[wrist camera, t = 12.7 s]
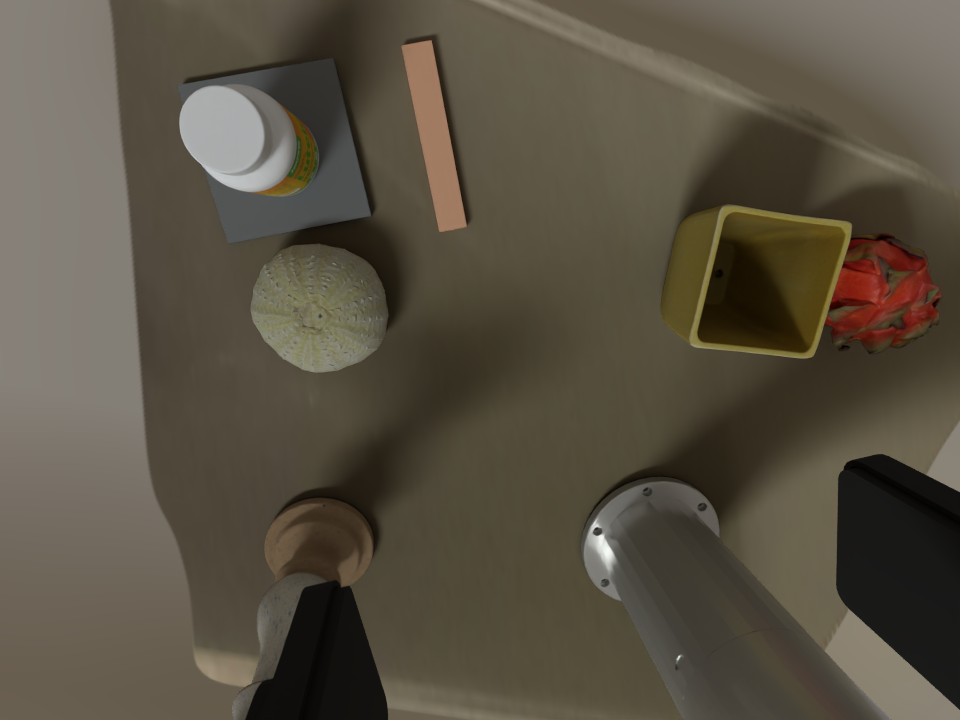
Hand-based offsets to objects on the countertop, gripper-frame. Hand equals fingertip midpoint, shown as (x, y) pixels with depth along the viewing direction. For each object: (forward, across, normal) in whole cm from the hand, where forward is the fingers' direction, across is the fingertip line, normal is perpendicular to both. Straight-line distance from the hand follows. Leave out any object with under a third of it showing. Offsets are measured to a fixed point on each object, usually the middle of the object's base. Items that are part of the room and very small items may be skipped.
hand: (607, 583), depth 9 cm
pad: (+30, +10, -13) cm, 35 cm away
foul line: (+30, 0, -12) cm, 33 cm away
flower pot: (+31, -18, +1) cm, 36 cm away
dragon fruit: (+31, -29, +4) cm, 42 cm away
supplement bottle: (+30, +10, -13) cm, 34 cm away
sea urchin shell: (+31, +10, -2) cm, 32 cm away
